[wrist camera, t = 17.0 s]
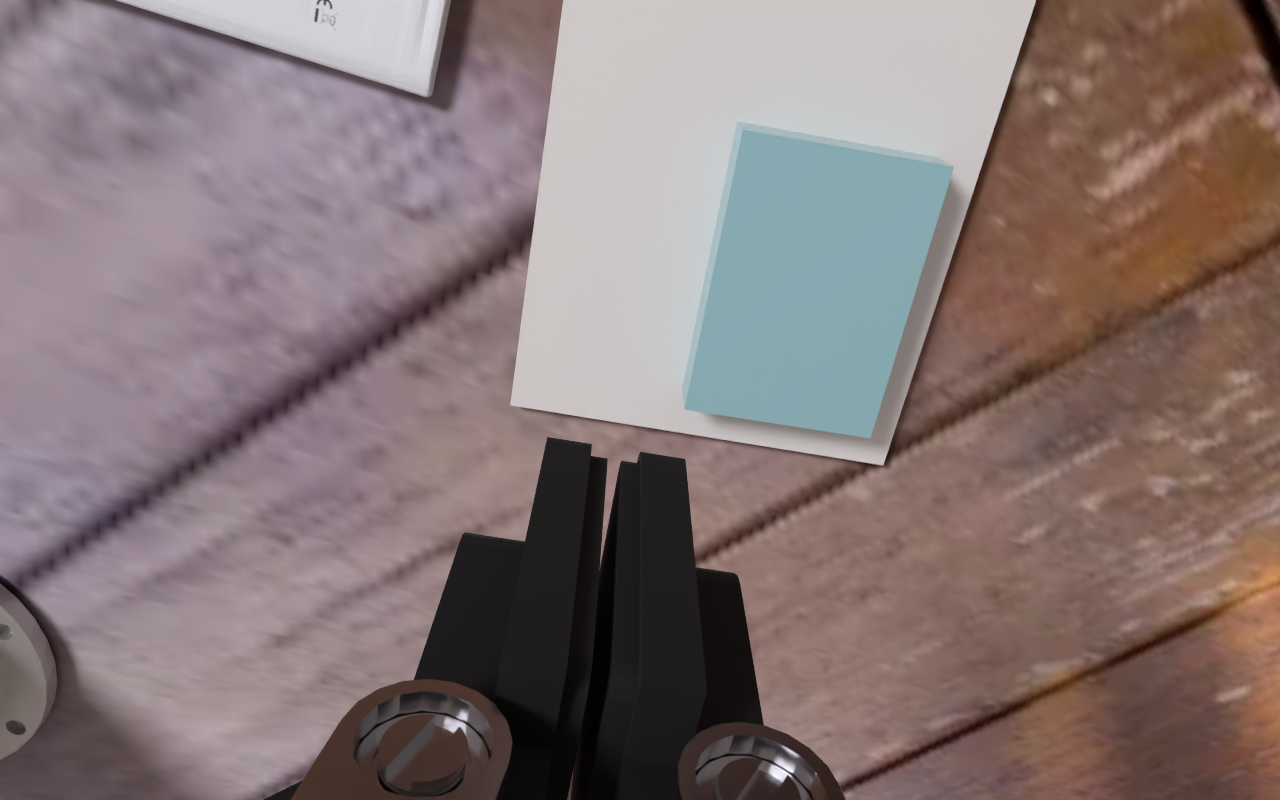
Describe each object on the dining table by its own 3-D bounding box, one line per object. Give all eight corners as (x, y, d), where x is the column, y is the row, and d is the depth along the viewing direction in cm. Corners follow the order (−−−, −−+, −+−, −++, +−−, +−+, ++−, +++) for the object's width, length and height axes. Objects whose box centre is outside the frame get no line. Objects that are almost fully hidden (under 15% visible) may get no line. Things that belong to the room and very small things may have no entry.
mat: (879, 458, 36) (883, 465, 36) (512, 398, 35) (510, 405, 35) (1036, -25, 29) (1044, -25, 29) (580, -117, 28) (578, -119, 28)
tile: (682, 387, 35) (858, 415, 35) (684, 409, 33) (870, 438, 33) (737, 121, 30) (935, 156, 31) (743, 129, 29) (954, 166, 29)
